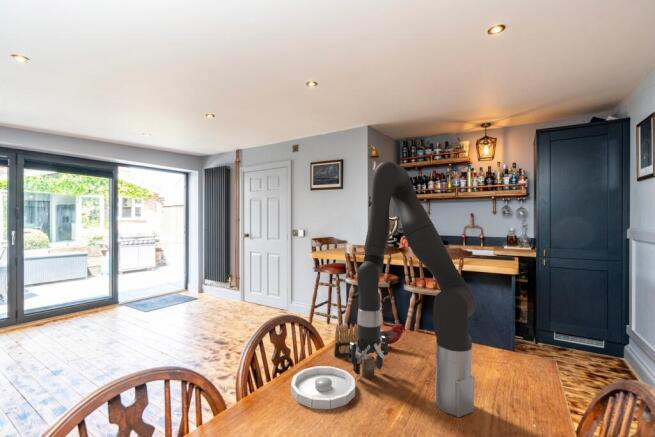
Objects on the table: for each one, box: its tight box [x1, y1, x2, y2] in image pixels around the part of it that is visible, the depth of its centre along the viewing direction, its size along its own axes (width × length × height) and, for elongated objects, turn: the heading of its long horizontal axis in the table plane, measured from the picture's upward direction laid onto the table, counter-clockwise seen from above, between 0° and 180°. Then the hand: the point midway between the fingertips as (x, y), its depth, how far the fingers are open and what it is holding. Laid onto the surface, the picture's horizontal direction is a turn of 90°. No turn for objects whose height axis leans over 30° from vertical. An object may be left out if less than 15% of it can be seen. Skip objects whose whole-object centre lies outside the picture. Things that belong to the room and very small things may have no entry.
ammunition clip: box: [333, 323, 362, 358], centre depth 121 cm, size 11×2×12 cm, turn 96°
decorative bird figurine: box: [380, 323, 407, 349], centre depth 128 cm, size 3×18×10 cm, turn 78°
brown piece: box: [361, 354, 376, 380], centre depth 106 cm, size 4×4×6 cm
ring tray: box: [290, 365, 356, 410], centre depth 97 cm, size 19×19×2 cm
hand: (368, 370), depth 106 cm, fingers open, 8 cm apart
